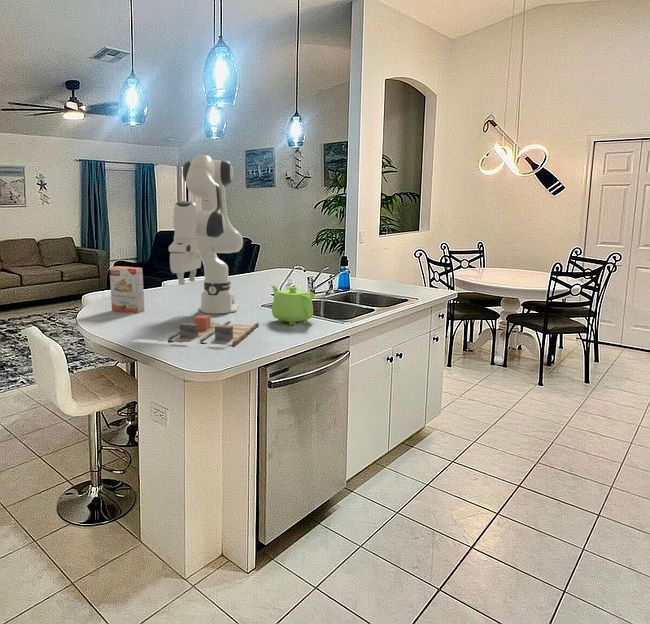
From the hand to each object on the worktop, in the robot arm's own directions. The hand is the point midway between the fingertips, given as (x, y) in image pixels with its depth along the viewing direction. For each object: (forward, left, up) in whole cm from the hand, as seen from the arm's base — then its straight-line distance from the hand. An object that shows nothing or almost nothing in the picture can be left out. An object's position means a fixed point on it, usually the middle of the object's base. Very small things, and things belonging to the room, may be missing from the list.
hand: (187, 282), depth 205 cm
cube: (-14, 0, -21) cm, 25 cm away
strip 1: (-11, 0, -22) cm, 25 cm away
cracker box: (-43, -48, -23) cm, 68 cm away
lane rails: (-11, +7, -22) cm, 26 cm away
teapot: (-44, +32, -23) cm, 59 cm away
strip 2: (-11, +14, -22) cm, 28 cm away
